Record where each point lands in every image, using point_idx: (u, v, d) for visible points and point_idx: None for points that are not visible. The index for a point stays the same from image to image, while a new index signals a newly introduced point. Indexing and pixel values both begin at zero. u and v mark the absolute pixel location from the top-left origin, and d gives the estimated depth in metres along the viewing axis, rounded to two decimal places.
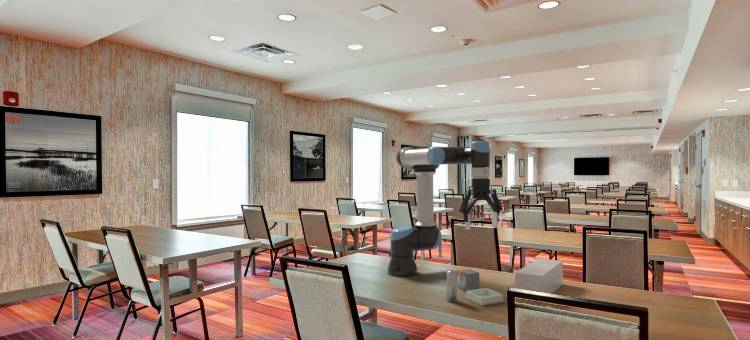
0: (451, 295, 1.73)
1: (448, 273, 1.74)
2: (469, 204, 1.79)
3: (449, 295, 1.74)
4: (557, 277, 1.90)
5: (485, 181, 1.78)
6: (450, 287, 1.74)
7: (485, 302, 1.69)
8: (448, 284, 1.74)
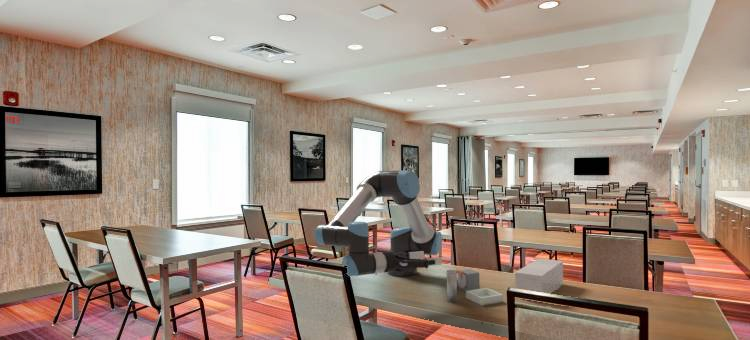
0: (451, 295, 1.73)
1: (448, 273, 1.74)
2: None
3: (449, 295, 1.74)
4: (557, 277, 1.90)
5: None
6: (450, 287, 1.74)
7: (485, 302, 1.69)
8: (448, 284, 1.74)
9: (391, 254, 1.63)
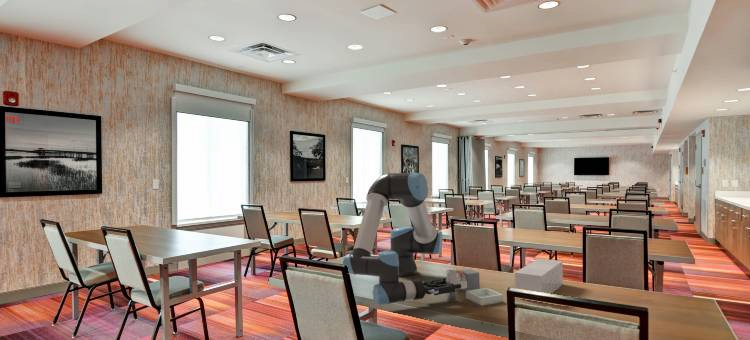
0: (451, 295, 1.73)
1: (448, 273, 1.74)
2: None
3: (449, 295, 1.74)
4: (557, 277, 1.90)
5: None
6: None
7: (485, 302, 1.69)
8: None
9: (420, 282, 1.68)
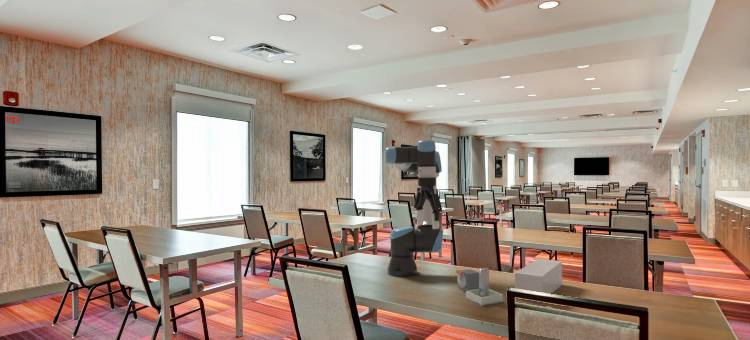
0: (484, 293, 1.73)
1: (481, 271, 1.74)
2: None
3: (482, 293, 1.74)
4: (556, 277, 1.89)
5: (418, 180, 1.84)
6: (482, 284, 1.74)
7: (485, 302, 1.69)
8: (481, 282, 1.74)
9: (435, 183, 1.84)
